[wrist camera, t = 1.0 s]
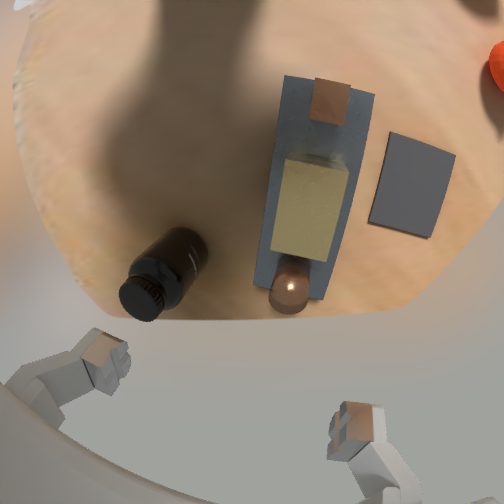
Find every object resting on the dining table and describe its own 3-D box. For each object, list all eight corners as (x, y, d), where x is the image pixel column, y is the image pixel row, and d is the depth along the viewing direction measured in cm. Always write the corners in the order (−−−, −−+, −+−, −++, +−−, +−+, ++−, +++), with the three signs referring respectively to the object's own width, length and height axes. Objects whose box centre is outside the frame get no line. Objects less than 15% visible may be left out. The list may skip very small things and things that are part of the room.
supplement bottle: (220, 253, 36) (180, 313, 26) (189, 280, 39) (148, 339, 29) (180, 214, 35) (126, 262, 24) (153, 246, 38) (102, 296, 28)
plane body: (288, 80, 25) (274, 64, 16) (367, 96, 24) (391, 89, 15) (259, 266, 36) (239, 319, 27) (323, 280, 35) (321, 338, 26)
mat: (389, 131, 25) (391, 131, 24) (453, 154, 24) (455, 155, 23) (368, 219, 30) (368, 221, 29) (428, 235, 29) (430, 237, 28)
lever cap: (290, 152, 25) (285, 159, 21) (344, 163, 24) (349, 172, 20) (276, 231, 28) (270, 249, 25) (325, 242, 28) (326, 262, 24)
